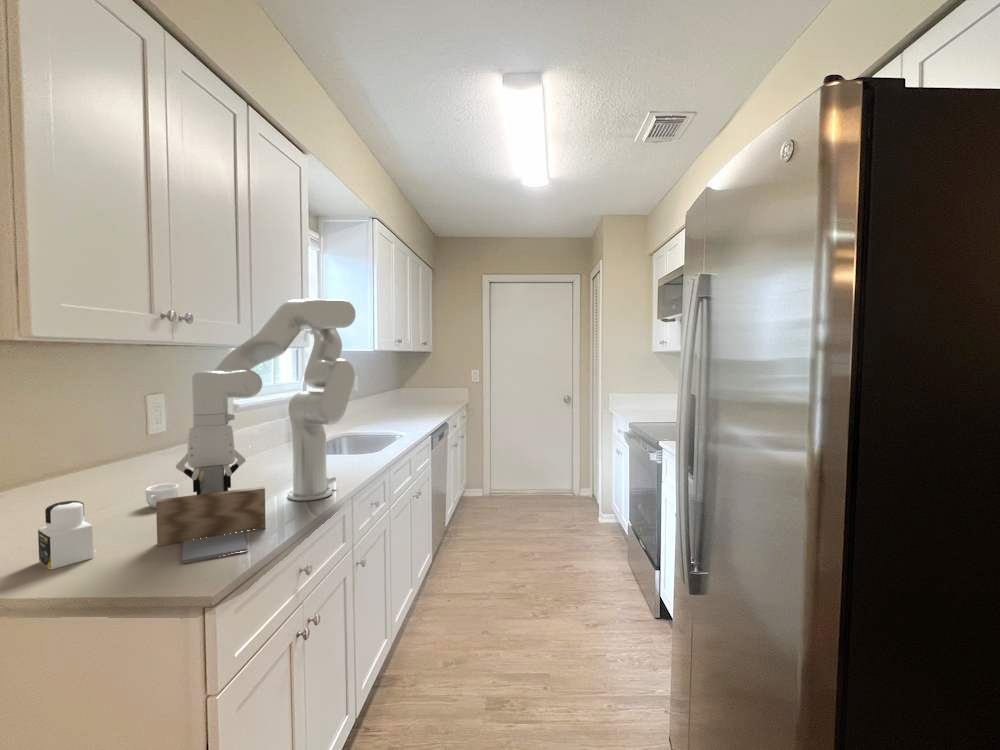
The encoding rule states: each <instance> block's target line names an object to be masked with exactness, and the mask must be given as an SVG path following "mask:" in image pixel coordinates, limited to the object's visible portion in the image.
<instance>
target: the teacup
mask: <svg viewBox="0 0 1000 750" xmlns="http://www.w3.org/2000/svg"><path fill="white" fill-rule="evenodd" d="M179 488H180V486H179V484H177V483H160V484H157V485H155V484H154V485H151V486H148V487H146V488H145V498H146V499H145V500H146V502H147V504H148V506H149V507H150V508H153V507H154V508H153V509H156V501H157V500H159V499H167V498H175V497H179V493H180V492H179V491H180V490H179Z"/></svg>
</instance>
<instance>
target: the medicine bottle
mask: <svg viewBox="0 0 1000 750" xmlns="http://www.w3.org/2000/svg"><path fill="white" fill-rule="evenodd" d="M44 512H45V513H44V514H45V526H42V527H39V528H38V529H37V537H38V540H37V541H38V561H39V563H41V564H42V565H43V566H45V568H48V569H49V570H50V571H51V570H54V569H58V568H62V567H66V566H69V565H73V564H78V563H80V562H84V561H87V560H91V559H94V556H95V555H94V553H95V552H94V551H95V550H94V526H93V524H90V523H89V522H87V521H85V503H84V502H82V501H79V500H64V501H59V502H56V503H53V504H51V505H49V506H47V507H46V508H45V511H44Z"/></svg>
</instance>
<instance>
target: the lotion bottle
mask: <svg viewBox="0 0 1000 750" xmlns="http://www.w3.org/2000/svg"><path fill="white" fill-rule="evenodd" d="M224 475H225V469H224V467H223V466H208V467H202V468H200V469H199V474H198V479H199V480H200V494H208V493H216V492H224V491H225V486H224Z"/></svg>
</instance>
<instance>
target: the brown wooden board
mask: <svg viewBox="0 0 1000 750" xmlns="http://www.w3.org/2000/svg"><path fill="white" fill-rule="evenodd" d="M155 509H156V510H155V511H156V512H155V513H156V515H155V516H156V547H161V546H167V545H173V543H174V544H179V543H178V542H180V543H183V541H188V540H193V539H200V538H206V537H213V536H219V535H224V534H230V533H235V532H241V531H247V530H253V529H260V530H262V529H261V528H266V488H265V486H258V487H250V488H241V489H233V490H228V491H224V492H216V493H208V494H199V495H197V494H192V495H185V496H184V495H183V496H178V497H175V498H167V499H159V500H157V501H156V508H155Z"/></svg>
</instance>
